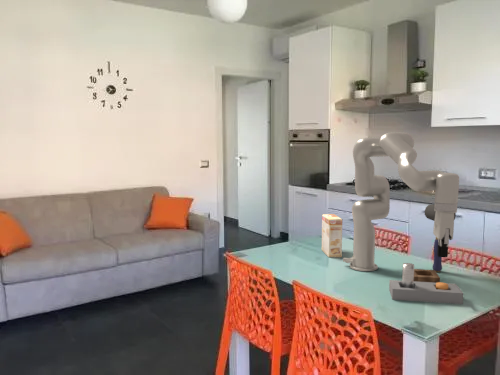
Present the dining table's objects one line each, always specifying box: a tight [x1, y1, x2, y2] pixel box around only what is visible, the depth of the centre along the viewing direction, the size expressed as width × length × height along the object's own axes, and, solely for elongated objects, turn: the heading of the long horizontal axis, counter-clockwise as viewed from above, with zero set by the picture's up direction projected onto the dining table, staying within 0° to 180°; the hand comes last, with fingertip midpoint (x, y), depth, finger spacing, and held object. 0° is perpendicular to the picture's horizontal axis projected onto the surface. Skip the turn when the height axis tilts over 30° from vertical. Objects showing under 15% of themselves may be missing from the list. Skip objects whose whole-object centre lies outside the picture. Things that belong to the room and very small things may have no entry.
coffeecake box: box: [321, 213, 343, 258], centre depth 223 cm, size 15×7×20 cm, turn 5°
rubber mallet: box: [424, 203, 457, 273], centre depth 192 cm, size 12×8×30 cm, turn 19°
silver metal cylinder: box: [401, 262, 415, 288], centre depth 161 cm, size 4×4×12 cm
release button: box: [436, 281, 448, 290], centre depth 159 cm, size 4×4×5 cm
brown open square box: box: [414, 268, 441, 283], centre depth 173 cm, size 10×10×6 cm
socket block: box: [388, 279, 464, 305], centre depth 160 cm, size 24×10×5 cm, turn 78°
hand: (442, 256), depth 158 cm, fingers closed
